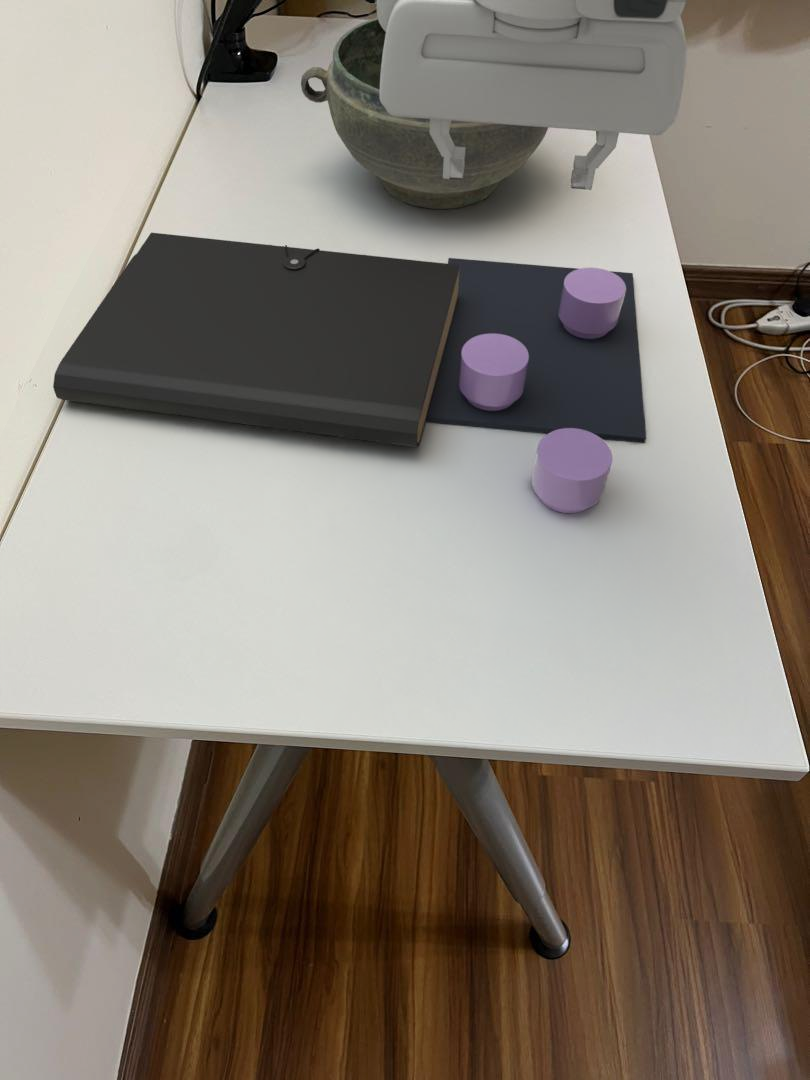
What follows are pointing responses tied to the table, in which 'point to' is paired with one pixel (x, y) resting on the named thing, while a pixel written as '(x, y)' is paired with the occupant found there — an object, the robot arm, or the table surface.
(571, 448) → the purple short cylinder
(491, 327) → the mat
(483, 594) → the table surface
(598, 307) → the lavender round puck
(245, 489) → the table surface
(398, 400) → the file folder
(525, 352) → the lilac cylinder puck
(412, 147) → the bowl
